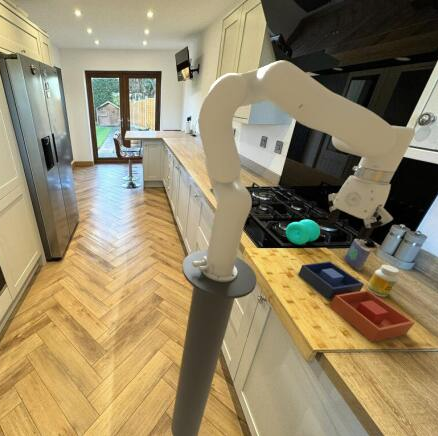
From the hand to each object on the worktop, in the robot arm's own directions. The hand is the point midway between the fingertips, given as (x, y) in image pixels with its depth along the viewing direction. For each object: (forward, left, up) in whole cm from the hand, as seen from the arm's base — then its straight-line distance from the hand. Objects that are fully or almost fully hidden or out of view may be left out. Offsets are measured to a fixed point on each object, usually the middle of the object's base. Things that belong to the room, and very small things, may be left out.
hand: (345, 230), depth 71 cm
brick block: (+1, -15, -21) cm, 26 cm away
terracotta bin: (+1, -15, -21) cm, 26 cm away
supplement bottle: (+17, -6, -22) cm, 28 cm away
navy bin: (+3, 0, -21) cm, 22 cm away
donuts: (+16, +26, -22) cm, 37 cm away
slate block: (+3, 0, -21) cm, 21 cm away
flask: (+24, +8, -22) cm, 33 cm away
